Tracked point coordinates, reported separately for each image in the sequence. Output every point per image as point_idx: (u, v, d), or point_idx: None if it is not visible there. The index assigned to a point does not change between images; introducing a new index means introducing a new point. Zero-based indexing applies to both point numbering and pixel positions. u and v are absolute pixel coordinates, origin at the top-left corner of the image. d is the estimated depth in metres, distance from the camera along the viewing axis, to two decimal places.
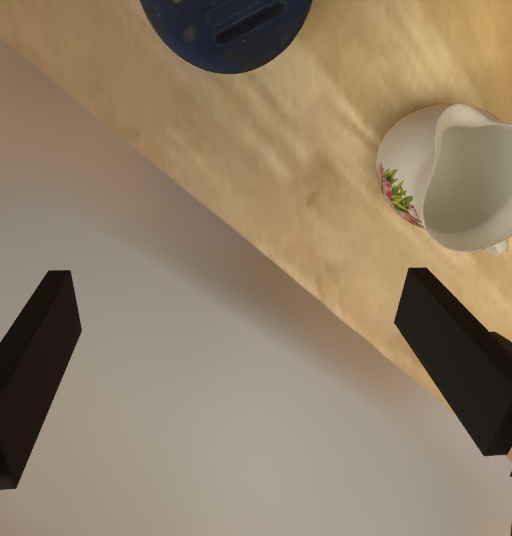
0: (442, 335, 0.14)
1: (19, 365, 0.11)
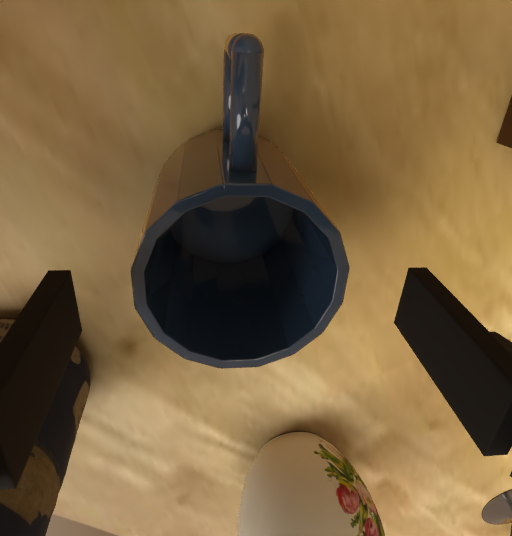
0: (442, 335, 0.14)
1: (19, 365, 0.11)
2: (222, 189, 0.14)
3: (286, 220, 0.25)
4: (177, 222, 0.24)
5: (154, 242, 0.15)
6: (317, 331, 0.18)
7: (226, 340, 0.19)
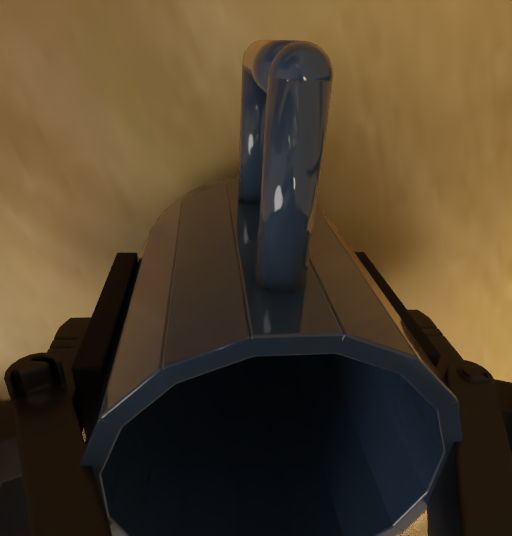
0: None
1: (114, 330, 0.12)
2: (248, 345, 0.07)
3: None
4: None
5: (118, 432, 0.08)
6: (397, 529, 0.11)
7: (245, 520, 0.12)
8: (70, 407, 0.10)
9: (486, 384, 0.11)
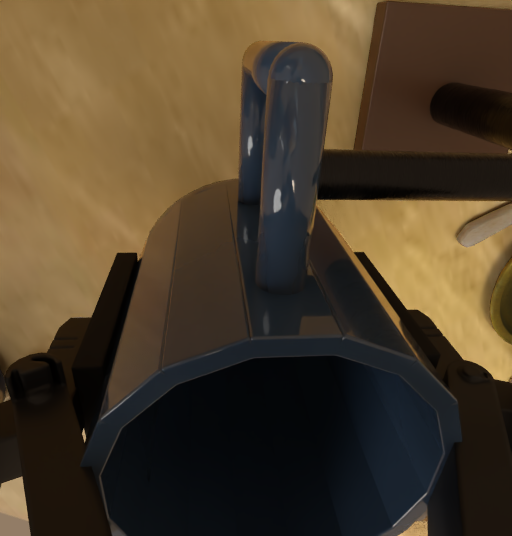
0: None
1: (114, 330, 0.12)
2: (248, 347, 0.07)
3: None
4: None
5: (117, 434, 0.08)
6: (396, 530, 0.11)
7: (244, 521, 0.12)
8: (70, 407, 0.10)
9: (486, 384, 0.11)
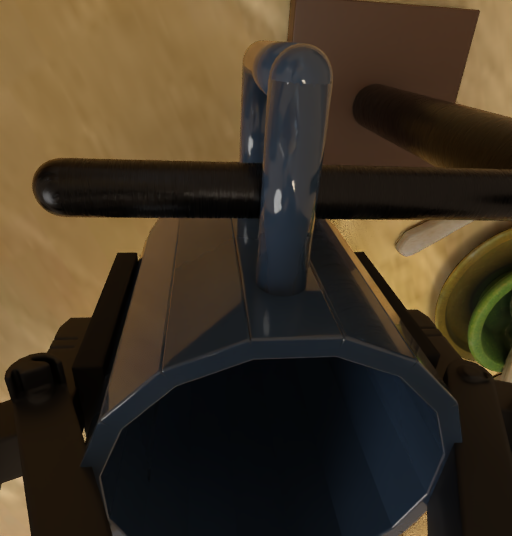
0: None
1: (115, 330, 0.12)
2: (248, 349, 0.07)
3: None
4: None
5: (117, 435, 0.08)
6: (396, 531, 0.11)
7: (244, 521, 0.12)
8: (70, 407, 0.10)
9: (486, 384, 0.11)
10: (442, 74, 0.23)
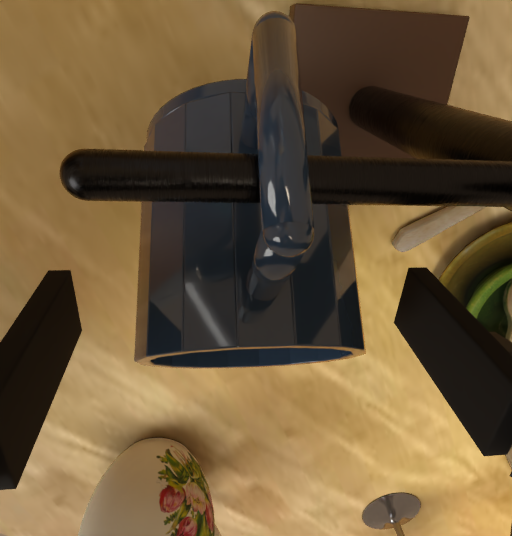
0: (442, 335, 0.14)
1: (19, 365, 0.11)
2: (235, 347, 0.12)
3: None
4: None
5: (158, 357, 0.14)
6: (320, 361, 0.18)
7: None
8: None
9: None
10: (434, 76, 0.24)
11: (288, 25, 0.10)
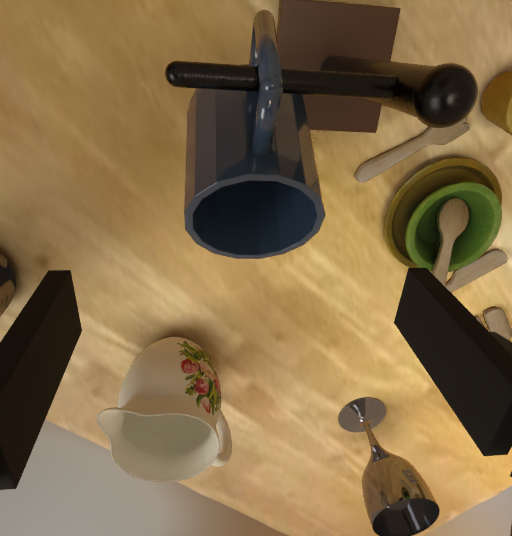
0: (442, 335, 0.14)
1: (19, 365, 0.11)
2: (246, 177, 0.22)
3: None
4: None
5: (200, 200, 0.23)
6: (300, 244, 0.28)
7: (241, 238, 0.29)
8: None
9: None
10: (378, 50, 0.35)
11: (270, 14, 0.21)
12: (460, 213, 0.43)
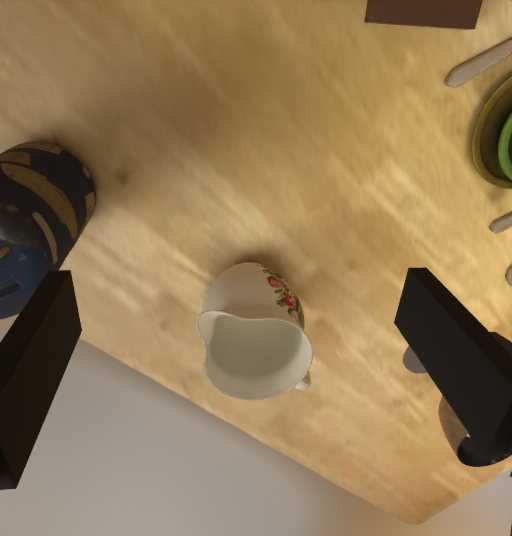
0: (442, 335, 0.14)
1: (19, 365, 0.11)
2: None
3: None
4: None
5: None
6: None
7: None
8: None
9: None
10: None
11: None
12: None
